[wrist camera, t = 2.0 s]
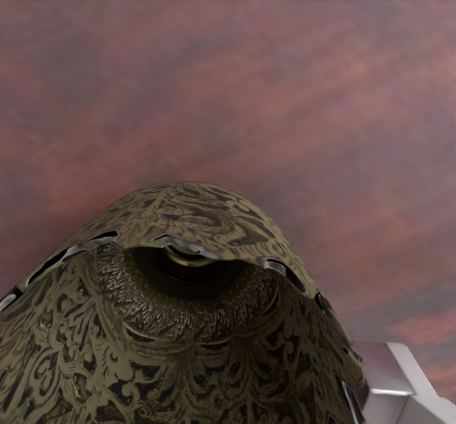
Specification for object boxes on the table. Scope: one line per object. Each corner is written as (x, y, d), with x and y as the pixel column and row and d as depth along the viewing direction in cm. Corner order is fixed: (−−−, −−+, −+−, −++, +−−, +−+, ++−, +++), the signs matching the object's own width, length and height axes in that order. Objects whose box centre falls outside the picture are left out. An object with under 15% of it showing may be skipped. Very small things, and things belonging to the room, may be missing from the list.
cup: (266, 105, 12) (332, 193, 5) (309, 283, 15) (390, 499, 8) (59, 167, 13) (-138, 320, 6) (138, 326, 16) (71, 560, 9)
